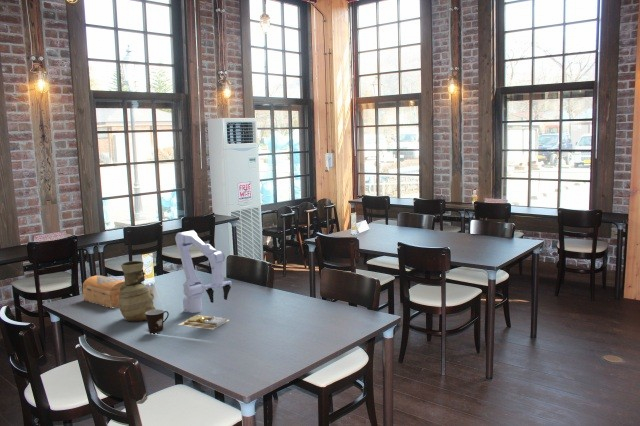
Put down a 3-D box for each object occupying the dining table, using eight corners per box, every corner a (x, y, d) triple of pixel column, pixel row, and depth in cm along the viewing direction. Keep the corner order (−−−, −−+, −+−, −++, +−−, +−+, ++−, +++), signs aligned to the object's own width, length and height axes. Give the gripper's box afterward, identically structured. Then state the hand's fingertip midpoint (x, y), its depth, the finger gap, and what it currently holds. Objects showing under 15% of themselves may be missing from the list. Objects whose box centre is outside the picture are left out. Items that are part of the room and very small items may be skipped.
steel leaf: (203, 325, 286) (203, 320, 285) (213, 320, 293) (212, 315, 293) (216, 327, 283) (216, 322, 282) (225, 322, 290) (225, 317, 290)
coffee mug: (148, 336, 276) (147, 315, 274) (145, 331, 283) (143, 311, 282) (173, 331, 281) (171, 311, 280) (169, 326, 289) (167, 307, 287)
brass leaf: (187, 323, 290) (186, 318, 289) (196, 318, 297) (196, 314, 297) (199, 324, 287) (199, 320, 287) (208, 319, 294) (208, 315, 294)
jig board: (177, 326, 288) (177, 322, 288) (195, 317, 302) (195, 313, 301) (213, 331, 280) (212, 327, 279) (229, 321, 293) (229, 317, 293)
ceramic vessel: (162, 311, 315) (158, 257, 311) (153, 323, 294) (148, 266, 290) (127, 312, 315) (123, 258, 311) (115, 325, 294) (110, 267, 290)
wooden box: (136, 302, 334) (135, 279, 332) (110, 309, 322) (108, 285, 320) (109, 294, 353) (107, 272, 351) (83, 300, 341) (81, 277, 339)
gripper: (207, 278, 287) (209, 305, 289) (233, 274, 296) (235, 299, 298) (201, 276, 293) (203, 302, 295) (227, 271, 301) (228, 296, 303)
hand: (218, 300), depth 297 cm, fingers open, 7 cm apart
